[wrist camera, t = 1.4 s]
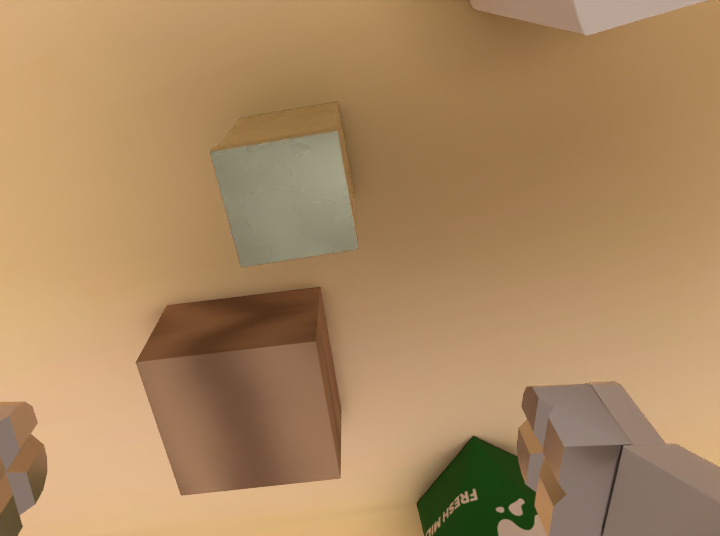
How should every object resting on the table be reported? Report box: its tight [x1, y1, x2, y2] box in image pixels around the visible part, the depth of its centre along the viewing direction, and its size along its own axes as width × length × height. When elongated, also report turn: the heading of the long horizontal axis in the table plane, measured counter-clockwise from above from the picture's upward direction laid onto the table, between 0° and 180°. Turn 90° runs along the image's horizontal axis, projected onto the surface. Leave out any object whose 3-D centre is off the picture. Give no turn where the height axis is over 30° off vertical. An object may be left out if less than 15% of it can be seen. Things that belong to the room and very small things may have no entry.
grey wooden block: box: [210, 102, 358, 267], centre depth 29 cm, size 5×5×7 cm
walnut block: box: [136, 287, 341, 496], centre depth 35 cm, size 9×9×6 cm
